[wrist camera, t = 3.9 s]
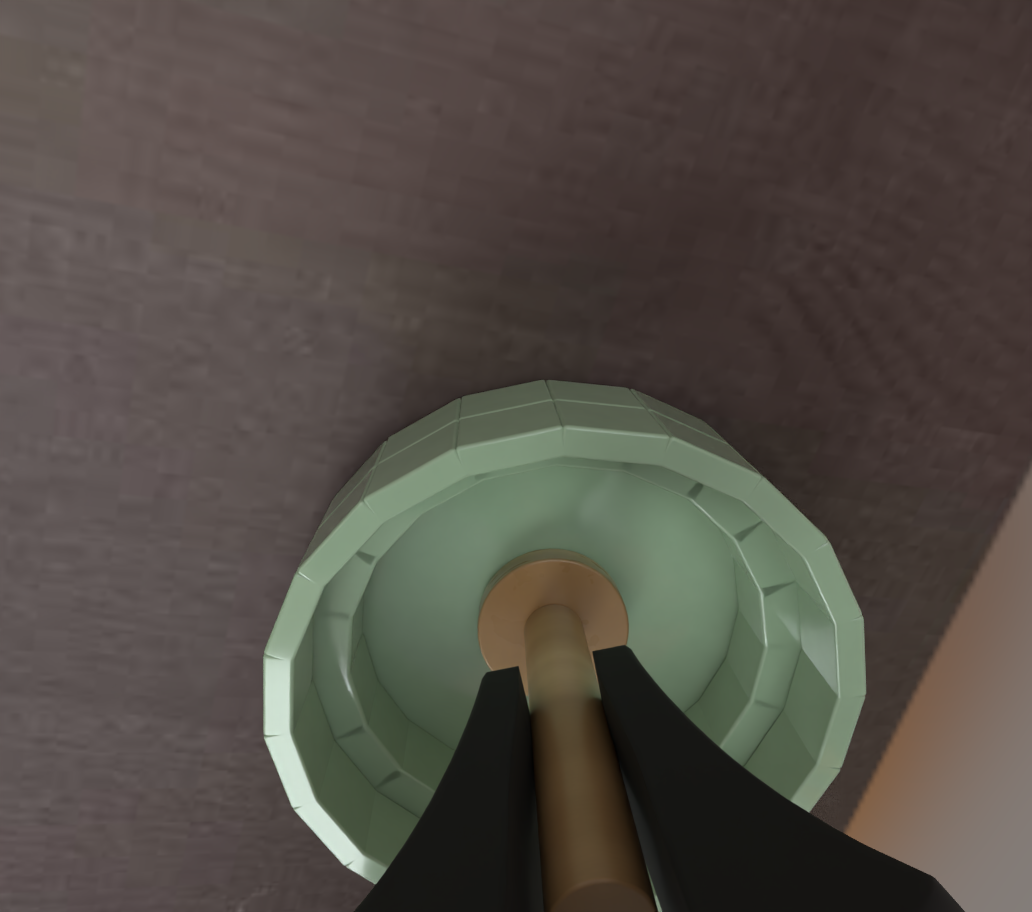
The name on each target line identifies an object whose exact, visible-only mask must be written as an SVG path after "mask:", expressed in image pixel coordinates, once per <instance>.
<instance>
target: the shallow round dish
mask: <svg viewBox="0 0 1032 912" xmlns="http://www.w3.org/2000/svg"><path fill="white" fill-rule="evenodd" d="M541 549H564V550H569V551H573V552H577V553H579V554H582V555H584V556H586V557H588V558H590V559H592V560H593V561H595V562H596V563H598V564H599V565H600V566H601V567H602V568H603V569H605V570H606V571H607V573H608V574H609V575H610V576H611V578H612V579H613V580H614V582H615V584H616V585H617V587H618V590H619V592H620V594H621V596H622V599H623V601H624V604H625V606H626V610H627V614H628V620H629V635H628V641H627V645H626V646H627V647H629V648H631V649H632V651H633V653H634V654H635V656H636V657H637V659H638V660H639V662H640V663H641V664H642V666H643V667H644V668H645V670H646V671H647V672H648V673H649V675H650V676H651V677H652V678H653V680H654V681H655V682H656V683H657V684H658V686H659V687H660V688H661V689H662V690H663V691H664V692H665V694H666V695H667V696H668V697H669V698H670V699H671V700H672V701H673V702H674V703H675V704H676V705H677V706H678V707H679V709H680V710H681V711H682V712H683V713H684V714H685V715H686V716H687V717H688V718H689V719H690V720H691V721H692V722H693V723H694V724H695V725H696V726H697V727H698V728H699V729H700V730H701V731H703V732H704V733H705V734H706V735H707V736H708V737H709V738H710V739H711V740H712V741H713V742H714V743H716V744H717V745H718V746H719V747H720V748H721V749H722V750H724V751H725V752H726V753H727V754H728V755H729V756H731V757H732V758H733V759H734V760H735V761H737V762H738V763H739V764H740V765H742V766H743V767H744V768H746V769H747V770H748V771H749V772H751V773H752V774H753V775H755V776H756V777H757V778H758V779H760V780H761V781H763V782H764V783H765V784H767V785H768V786H770V787H771V788H772V789H774V790H775V791H777V792H778V793H779V794H781V795H782V796H784V797H785V798H787V799H788V800H790V801H791V802H793V803H795V804H796V805H798V806H799V807H801V808H803V809H804V810H806V811H807V812H810V811H811V809H812V808H813V807H814V805H815V804H816V803H817V801H818V800H819V799H820V797H821V796H822V795H823V793H824V792H825V791H826V789H827V788H828V787H829V785H830V784H831V782H832V781H833V780H834V778H835V777H836V776H837V774H838V773H839V772H840V768H841V767H842V765H843V762H844V759H845V756H846V753H847V750H848V747H849V744H850V741H851V738H852V735H853V732H854V729H855V726H856V723H857V720H858V717H859V714H860V711H861V708H862V705H863V702H864V699H865V695H866V672H865V644H864V618H863V616H862V612H861V610H860V607H859V605H858V603H857V601H856V599H855V596H854V594H853V592H852V590H851V587H850V585H849V583H848V581H847V579H846V576H845V574H844V572H843V570H842V567H841V565H840V563H839V561H838V559H837V556H836V554H835V552H834V550H833V547H832V545H831V543H830V541H829V540H828V539H827V537H826V536H825V535H824V534H823V533H822V532H821V531H820V530H819V529H818V528H817V527H816V526H815V525H814V524H813V523H812V522H811V521H810V520H809V519H808V518H807V517H806V516H804V515H803V514H802V513H801V512H800V511H799V510H798V509H797V508H796V507H795V506H794V505H793V504H792V503H791V502H790V501H789V500H788V499H787V498H786V497H785V496H784V495H783V494H782V493H781V492H780V491H779V490H777V489H776V488H775V487H774V486H773V485H772V484H771V483H770V482H769V481H768V480H767V479H766V478H765V477H764V476H763V475H762V474H761V473H760V472H759V471H758V470H756V469H755V468H754V467H753V466H752V465H751V464H750V463H749V462H748V461H747V460H746V459H745V458H744V457H742V456H741V455H740V454H739V453H738V452H737V451H736V450H735V449H734V448H733V447H732V446H731V445H730V444H729V443H728V442H726V441H725V440H724V439H723V438H722V437H721V436H720V435H719V434H718V433H717V432H716V431H715V430H714V429H713V428H711V427H710V426H709V425H708V424H706V423H705V422H704V421H703V420H701V419H699V418H696V417H694V416H692V415H690V414H688V413H685V412H683V411H681V410H679V409H676V408H674V407H672V406H670V405H668V404H665V403H663V402H661V401H659V400H656V399H654V398H652V397H650V396H648V395H645V394H643V393H641V392H639V391H637V390H634V389H631V390H630V389H628V388H625V387H615V386H605V385H596V384H586V383H576V382H567V381H557V380H547V381H545V380H539V381H534V382H529V383H524V384H519V385H515V386H510V387H505V388H500V389H495V390H491V391H486V392H481V393H476V394H471V395H467V396H463V397H461V399H460V398H459V399H456V400H454V401H452V402H450V403H449V404H447V405H445V406H443V407H441V408H440V409H438V410H436V411H434V412H433V413H431V414H429V415H427V416H426V417H424V418H422V419H420V420H419V421H417V422H415V423H413V424H411V425H410V426H408V427H406V428H404V429H403V430H401V431H399V432H397V433H396V434H394V435H392V436H390V437H389V438H388V439H387V441H385V442H383V443H382V444H381V445H380V446H379V447H378V449H377V450H376V451H375V452H374V453H373V454H372V455H371V456H370V458H369V459H368V460H367V461H366V462H365V463H364V464H363V465H362V466H361V468H360V469H359V470H358V471H357V472H356V473H355V474H354V475H353V477H352V478H351V479H350V480H349V481H348V482H347V483H346V484H345V485H344V487H343V488H342V489H341V490H340V491H339V492H338V493H337V494H336V495H335V497H334V499H333V501H332V502H331V504H330V506H329V508H328V510H327V512H326V513H325V515H324V517H323V519H322V521H321V523H320V525H319V527H318V529H317V531H316V533H315V535H314V537H313V539H312V541H311V543H310V545H309V547H308V549H307V551H306V553H305V555H304V557H303V559H302V561H301V562H300V564H299V566H298V568H297V570H296V572H295V574H294V577H293V579H292V582H291V584H290V587H289V589H288V592H287V594H286V597H285V599H284V602H283V604H282V607H281V609H280V612H279V614H278V617H277V619H276V622H275V624H274V627H273V629H272V632H271V634H270V637H269V639H268V642H267V644H266V647H265V649H264V655H263V733H264V740H265V742H266V745H267V747H268V750H269V752H270V754H271V757H272V759H273V762H274V764H275V767H276V769H277V772H278V774H279V777H280V779H281V782H282V784H283V787H284V789H285V792H286V794H287V796H288V799H289V801H290V804H291V806H292V808H293V809H294V811H295V812H296V813H297V814H298V815H299V816H300V818H301V819H302V820H303V821H304V822H305V823H306V824H307V825H308V826H309V828H310V829H311V830H312V831H313V832H314V833H315V834H316V835H317V836H318V838H319V839H320V840H321V841H322V842H323V843H324V844H325V845H326V846H327V848H328V849H329V850H330V851H331V852H332V853H333V854H334V855H335V856H336V858H337V859H338V860H339V861H340V862H341V863H342V864H343V865H346V867H347V868H348V869H350V870H352V871H353V872H355V873H357V874H358V875H360V876H362V877H363V878H365V879H367V880H368V881H370V882H372V883H374V884H375V885H376V884H377V882H378V881H379V879H380V878H381V877H382V875H383V874H384V873H385V871H386V870H387V868H388V867H389V865H390V864H391V863H392V861H393V860H394V858H395V857H396V855H397V854H398V852H399V851H400V850H401V848H402V847H403V845H404V844H405V842H406V841H407V839H408V837H409V836H410V834H411V833H412V831H413V829H414V828H415V826H416V825H417V823H418V821H419V820H420V818H421V816H422V815H423V813H424V811H425V809H426V808H427V806H428V804H429V802H430V801H431V799H432V797H433V795H434V793H435V791H436V789H437V787H438V785H439V783H440V781H441V779H442V777H443V775H444V773H445V771H446V769H447V767H448V765H449V763H450V761H451V759H452V757H453V755H454V752H455V750H456V748H457V745H458V743H459V741H460V738H461V736H462V734H463V731H464V729H465V727H466V724H467V722H468V719H469V716H470V714H471V711H472V708H473V706H474V703H475V700H476V697H477V694H478V691H479V687H480V684H481V680H482V678H483V676H484V675H485V674H486V672H490V671H491V670H490V668H489V667H488V665H487V664H486V662H485V660H484V658H483V656H482V653H481V650H480V647H479V642H478V632H477V626H478V614H479V606H480V602H481V598H482V595H483V593H484V591H485V588H486V587H487V585H488V583H489V582H490V580H491V579H492V578H493V576H494V575H495V574H496V573H497V572H498V571H499V570H500V569H501V568H502V567H503V566H504V565H506V564H507V563H508V562H510V561H511V560H513V559H515V558H517V557H518V556H521V555H523V554H526V553H528V552H532V551H536V550H541ZM526 699H527V703H528V708H529V697H528V696H526ZM529 712H530V711H529ZM645 863H646V862H645ZM646 867H647V865H646ZM647 870H648V868H647ZM648 874H649V871H648ZM649 878H650V882H651V886H652V889H653V893H654V897H655V901H656V904H657V908H658V912H662V909H661V906H660V903H659V901H658V898H657V895H656V892H655V889H654V886H653V883H652V880H651V877H650V874H649Z"/></svg>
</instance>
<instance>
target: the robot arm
mask: <svg viewBox="0 0 1032 912" xmlns="http://www.w3.org/2000/svg"><path fill="white" fill-rule="evenodd" d="M592 653H593V658H594V663H595V668H596V673H597V679H598V684H599V689H600V694H601V699H602V703H603V707H604V711H605V715H606V719H607V723H608V726H609V730H610V734H611V737H612V740H613V743H614V746H615V750H616V753H617V757H618V761H619V765H620V769H621V772H622V776H623V780H624V784H625V787H626V791H627V795H628V799H629V802H630V806H631V810H632V814H633V818H634V821H635V825H636V829H637V833H638V836H639V840H640V844H641V848H642V852H643V855H644V859H645V862H646V865H647V868H648V871H649V874H650V877H651V880H652V883H653V886H654V889H655V892H656V895H657V898H658V901H659V903H660V906H661V909H662V912H965V911H964V910H963V909H962V908H961V907H960V906H959V904H958V903H957V902H956V901H955V900H954V899H953V898H952V897H951V896H950V894H949V893H948V892H947V891H946V890H945V889H944V888H943V886H942V885H941V884H940V883H939V882H938V881H937V880H936V879H935V878H934V877H932V876H931V875H928V874H926V873H924V872H922V871H920V870H918V869H915V868H913V867H911V866H909V865H907V864H905V863H903V862H900V861H898V860H896V859H894V858H892V857H890V856H887V855H885V854H883V853H881V852H879V851H877V850H875V849H872V848H870V847H868V846H866V845H864V844H862V843H860V842H859V841H857V840H855V839H853V838H851V837H849V836H848V835H846V834H844V833H842V832H840V831H838V830H837V829H835V828H833V827H831V826H830V825H828V824H826V823H825V822H823V821H822V820H820V819H818V818H817V817H815V816H814V815H812V814H811V813H809V812H807V811H806V810H804V809H803V808H801V807H799V806H798V805H796V804H795V803H793V802H791V801H790V800H788V799H787V798H785V797H784V796H782V795H781V794H779V793H778V792H777V791H775V790H774V789H772V788H771V787H770V786H768V785H767V784H765V783H764V782H763V781H761V780H760V779H758V778H757V777H756V776H755V775H753V774H752V773H751V772H749V771H748V770H747V769H746V768H744V767H743V766H742V765H740V764H739V763H738V762H737V761H735V760H734V759H733V758H732V757H731V756H729V755H728V754H727V753H726V752H725V751H724V750H722V749H721V748H720V747H719V746H718V745H717V744H716V743H714V742H713V741H712V740H711V739H710V738H709V737H708V736H707V735H706V734H705V733H704V732H703V731H701V730H700V729H699V728H698V727H697V726H696V725H695V724H694V723H693V722H692V721H691V720H690V719H689V718H688V717H687V716H686V715H685V714H684V713H683V712H682V711H681V710H680V709H679V707H678V706H677V705H676V704H675V703H674V702H673V701H672V700H671V699H670V698H669V697H668V696H667V695H666V694H665V692H664V691H663V690H662V689H661V688H660V687H659V686H658V684H657V683H656V682H655V681H654V680H653V678H652V677H651V676H650V675H649V673H648V672H647V671H646V670H645V668H644V667H643V666H642V664H641V663H640V662H639V660H638V659H637V657H636V656H635V654H634V653H633V651H632V649H631V648H629V647H627V646H626V645H621V646H616V647H611V648H606V649H601V650H596V651H592ZM354 912H544V906H543V892H542V878H541V864H540V850H539V836H538V822H537V808H536V794H535V781H534V767H533V748H532V734H531V720H530V712H529V708H528V703H527V699H526V695H525V691H524V687H523V682H522V678H521V674H520V670H519V666H515V667H510V668H505V669H500V670H495V671H490V672H486V674H485V675H484V676H483V678H482V680H481V684H480V687H479V691H478V694H477V697H476V700H475V703H474V706H473V708H472V711H471V714H470V716H469V719H468V722H467V724H466V727H465V729H464V731H463V734H462V736H461V738H460V741H459V743H458V745H457V748H456V750H455V752H454V755H453V757H452V759H451V761H450V763H449V765H448V767H447V769H446V771H445V773H444V775H443V777H442V779H441V781H440V783H439V785H438V787H437V789H436V791H435V793H434V795H433V797H432V799H431V801H430V802H429V804H428V806H427V808H426V809H425V811H424V813H423V815H422V816H421V818H420V820H419V821H418V823H417V825H416V826H415V828H414V829H413V831H412V833H411V834H410V836H409V837H408V839H407V841H406V842H405V844H404V845H403V847H402V848H401V850H400V851H399V852H398V854H397V855H396V857H395V858H394V860H393V861H392V863H391V864H390V865H389V867H388V868H387V870H386V871H385V873H384V874H383V875H382V877H381V878H380V879H379V881H378V882H377V884H376V885H375V886H374V888H373V889H372V890H371V891H370V893H369V894H368V895H367V897H366V898H365V899H364V900H363V901H362V903H361V904H360V905H359V906H358V907H357V909H356V910H355V911H354Z"/></svg>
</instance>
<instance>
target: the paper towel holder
mask: <svg viewBox="0 0 1032 912" xmlns="http://www.w3.org/2000/svg"><path fill="white" fill-rule="evenodd" d="M477 632H478V642H479V647H480V650H481V653H482V656H483V658H484V660H485V662H486V664H487V665H488V667H489V668H490V670H491V671H495V670H500V669H505V668H510V667H515V666H519V670H520V674H521V678H522V682H523V687H524V691H525V695H526V696H528V697H529V711H530V720H531V734H532V748H533V767H534V781H535V794H536V808H537V822H538V836H539V850H540V864H541V878H542V892H543V906H544V912H658V908H657V904H656V901H655V897H654V893H653V889H652V886H651V882H650V878H649V874H648V870H647V867H646V863H645V859H644V855H643V852H642V848H641V844H640V840H639V836H638V833H637V829H636V825H635V821H634V818H633V814H632V810H631V806H630V802H629V799H628V795H627V791H626V787H625V784H624V780H623V776H622V772H621V769H620V765H619V761H618V757H617V753H616V750H615V746H614V743H613V740H612V737H611V734H610V730H609V726H608V723H607V719H606V715H605V711H604V707H603V703H602V699H601V694H600V689H599V684H598V679H597V673H596V668H595V663H594V658H593V653H592V651H596V650H601V649H606V648H611V647H616V646H621V645H627V641H628V635H629V620H628V614H627V610H626V606H625V604H624V601H623V599H622V596H621V594H620V592H619V590H618V587H617V585H616V584H615V582H614V580H613V579H612V578H611V576H610V575H609V574H608V573H607V571H606V570H605V569H603V568H602V567H601V566H600V565H599V564H598V563H596V562H595V561H593V560H592V559H590V558H588V557H586V556H584V555H582V554H579V553H577V552H573V551H569V550H564V549H541V550H536V551H532V552H528V553H526V554H523V555H521V556H518V557H517V558H515V559H513V560H511V561H510V562H508V563H507V564H506V565H504V566H503V567H502V568H501V569H500V570H499V571H498V572H497V573H496V574H495V575H494V576H493V578H492V579H491V580H490V582H489V583H488V585H487V587H486V588H485V591H484V593H483V595H482V598H481V602H480V606H479V614H478V626H477Z"/></svg>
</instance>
